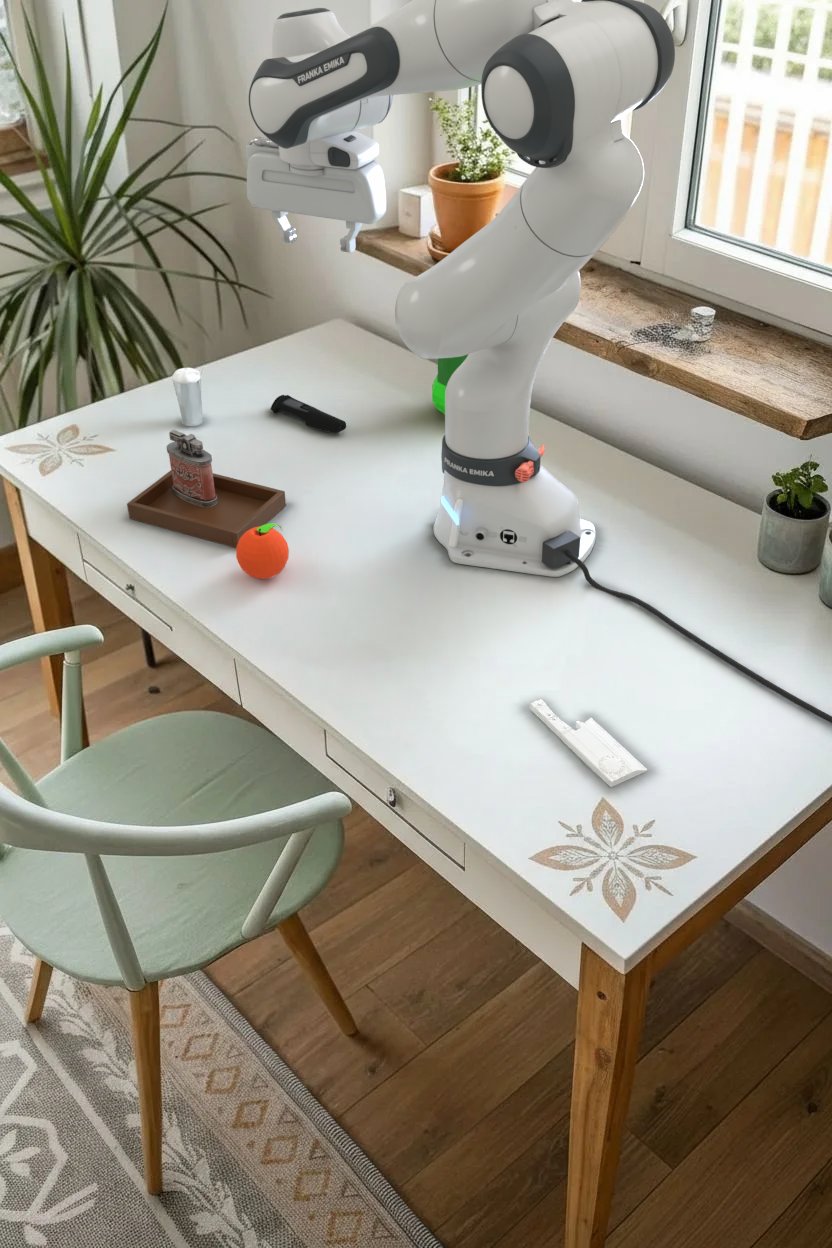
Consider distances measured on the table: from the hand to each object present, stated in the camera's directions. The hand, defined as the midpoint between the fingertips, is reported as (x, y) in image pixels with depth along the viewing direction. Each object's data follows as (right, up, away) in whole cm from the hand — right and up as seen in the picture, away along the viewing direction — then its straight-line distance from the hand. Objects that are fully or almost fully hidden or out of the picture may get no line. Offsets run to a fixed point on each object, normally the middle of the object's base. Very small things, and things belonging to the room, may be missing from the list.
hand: (318, 246), depth 169 cm
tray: (-16, -36, +6) cm, 40 cm away
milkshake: (-22, -20, +29) cm, 42 cm away
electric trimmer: (-4, -20, +28) cm, 35 cm away
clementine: (-6, -46, -7) cm, 47 cm away
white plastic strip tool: (+33, -65, -34) cm, 81 cm away
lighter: (-19, -34, +9) cm, 40 cm away
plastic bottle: (+21, -18, +30) cm, 41 cm away
